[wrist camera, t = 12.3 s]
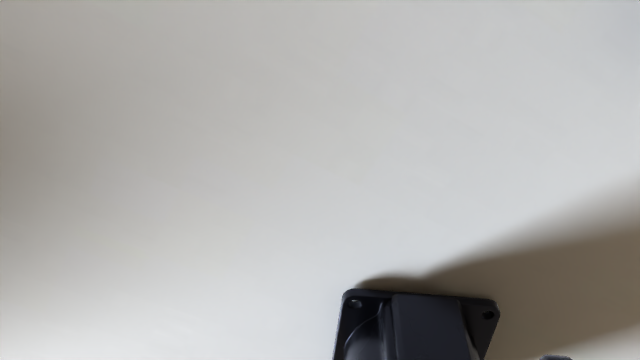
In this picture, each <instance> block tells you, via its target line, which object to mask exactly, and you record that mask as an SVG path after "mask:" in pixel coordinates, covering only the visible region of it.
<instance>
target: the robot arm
mask: <svg viewBox="0 0 640 360" xmlns="http://www.w3.org/2000/svg"><path fill="white" fill-rule="evenodd" d="M352 300H358V301H357V302H352ZM485 311H489V312H485ZM499 317H500V311H499V308H498V305H497V303H496V302H495V301H493V300H489V299H478V298H465V297H453V296H441V295H429V294H416V293H404V292H392V291H380V290H368V289H350V290H347V291H346V292H345V293H344V294H343V296H342V302H341V308H340V314H339V321H338V327H337V333H336V339H335V345H334V351H333V357H332V360H484V357H485V355H486V352H487V349H488V347H489V344H490V341H491V338H492V336H493V333H494V330H495V328H496V325H497V322H498V320H499ZM540 360H572V359H571V358H569V357H567V356H559V355H544V356H542V357H541V358H540Z"/></svg>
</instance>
